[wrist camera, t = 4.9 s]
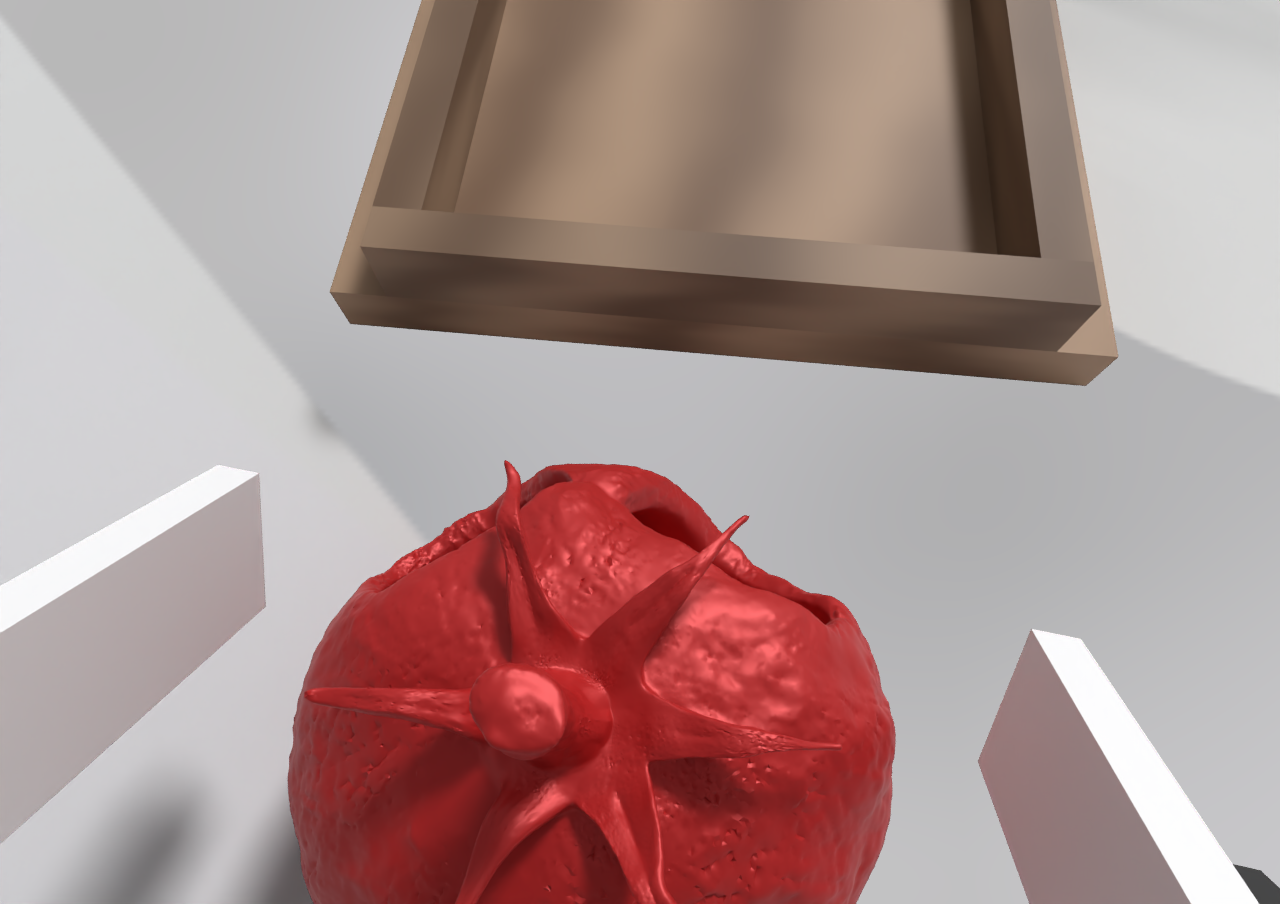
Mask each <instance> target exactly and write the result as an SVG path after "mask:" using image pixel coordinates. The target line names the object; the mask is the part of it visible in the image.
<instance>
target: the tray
mask: <svg viewBox="0 0 1280 904" xmlns="http://www.w3.org/2000/svg"><path fill="white" fill-rule="evenodd" d="M330 293H331V294H332V296H333V298H334V299H335V301H336V302H337V304H338V305H339V307H340V309H341V310H342V312H343V313H344V315H345V316H346V318H347V319H348V321H349V322H350V324H358V325H371V326H383V327H395V328H407V329H418V330H430V331H442V332H453V333H466V334H478V335H489V336H502V337H513V338H525V339H536V340H537V339H538V340H548V341H560V342H572V343H584V344H596V345H607V346H619V347H631V348H643V349H655V350H668V351H680V352H690V353H702V354H714V355H727V356H739V357H750V358H762V359H774V360H785V361H797V362H809V363H821V364H833V365H845V366H857V367H868V368H881V369H892V370H904V371H916V372H927V373H940V374H951V375H963V376H976V377H987V378H999V379H1010V380H1023V381H1034V382H1046V383H1058V384H1070V385H1082V386H1086V385H1087V384H1088V383H1090V382H1091V381H1092V380H1093V379H1094V378H1095V377H1096V376H1097V375H1099V374H1100V373H1101V372H1102V371H1103V370H1104V369H1105V368H1106V367H1108V366H1109V365H1110V364H1111V363H1112V362H1113V361H1114V360H1115V359H1117V358H1118V352H1117V346H1116V341H1115V335H1114V329H1113V323H1112V318H1111V312H1110V306H1109V301H1108V295H1107V289H1106V283H1105V278H1104V272H1103V266H1102V261H1101V255H1100V249H1099V243H1098V238H1097V232H1096V226H1095V221H1094V215H1093V209H1092V203H1091V198H1090V192H1089V186H1088V181H1087V175H1086V169H1085V164H1084V158H1083V152H1082V146H1081V141H1080V135H1079V129H1078V124H1077V118H1076V112H1075V106H1074V101H1073V95H1072V89H1071V84H1070V78H1069V72H1068V66H1067V61H1066V55H1065V49H1064V44H1063V38H1062V32H1061V26H1060V21H1059V15H1058V9H1057V4H1056V0H422V1H421V4H420V8H419V11H418V14H417V17H416V20H415V23H414V26H413V30H412V33H411V36H410V39H409V42H408V45H407V49H406V52H405V55H404V58H403V61H402V64H401V68H400V71H399V74H398V77H397V80H396V83H395V87H394V90H393V93H392V96H391V99H390V103H389V106H388V109H387V112H386V115H385V118H384V121H383V125H382V128H381V131H380V134H379V137H378V140H377V144H376V147H375V150H374V153H373V156H372V160H371V163H370V166H369V169H368V172H367V175H366V179H365V182H364V185H363V188H362V191H361V194H360V198H359V201H358V204H357V207H356V210H355V213H354V217H353V220H352V223H351V226H350V229H349V232H348V236H347V239H346V242H345V246H344V248H343V252H342V255H341V258H340V261H339V264H338V267H337V270H336V274H335V277H334V280H333V283H332V286H331V289H330Z"/></svg>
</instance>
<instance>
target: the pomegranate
mask: <svg viewBox="0 0 1280 904" xmlns="http://www.w3.org/2000/svg"><path fill="white" fill-rule="evenodd" d="M504 465H505V469H506V473H507V480H508V481H507V488H506V491H505V492H504V493H503V494H502V495H501V496H500V497H499V498H498V499H497V500H496V501H495V502H494V503H493V504H492V505H491V506H489V507H488V508H487V509H484V510H480V511H476V512H473V513H470V514H468V515H467V516H465V517H464V518H461V519H459V520H458V521H456V522H454V523H453V524H452V525H451V526H450V527H447V528H445V529H444V531H443V533H442V534H441V535H440V536H438V537H436V538H435V539H434V540H433V541H432V542H430V543H428V544H426V545H425V546H423V547H420V548H419V549H416V550H414V551H412V552H411V553H409V554H407V555H405V556H404V557H402V558H400V560H398V561H396V563H395V564H394V565H393V566H392V567H391V568H390V569H389V570H387V571H386V572H385V573H382V574H380V575H377V576H375V577H371V578H369V579H367V580H366V581H365V582H364V583H363V584H361V586H360V587H359V588H358V590H357V591H356V592H355V593H354V594H353V596H352V597H351V598H350V599H349V600H348V602H347V603H346V604H345V605H344V606H343V607H342V609H341V610H340V612H339V613H338V614H337V616H336V617H335V618H334V619H333V620H332V621H331V623H330V624H329V626H328V628H327V629H326V631H325V634H324V636H323V639H322V641H321V642H320V643H319V645H318V646H317V648H316V650H315V652H314V654H313V657H312V661H311V664H310V667H309V669H308V672H307V674H306V676H305V678H304V683H303V688H302V691H301V694H300V696H299V699H298V703H297V711H296V715H295V717H294V725H293V737H294V738H293V748H292V751H291V753H290V756H289V772H288V794H289V802H290V811H291V815H292V819H293V824H294V827H295V834H296V837H297V839H298V843H299V847H300V851H301V868H302V873H303V877H304V880H305V883H306V886H307V889H308V891H309V894H310V896H311V899H312V901H313V903H314V904H856V902H857V900H858V898H859V896H860V894H861V892H862V890H863V888H864V886H865V884H866V882H867V881H868V879H869V876H870V874H871V872H872V870H873V869H874V867H875V864H876V861H877V859H878V857H879V854H880V851H881V849H882V847H883V844H884V840H885V835H886V831H887V828H888V825H889V821H890V812H891V800H892V778H891V776H892V763H893V760H894V754H895V727H894V722H893V719H892V716H891V712H890V707H889V703H888V701H887V699H886V698H885V696H884V694H883V692H882V689H881V683H880V677H879V672H878V669H877V665H876V663H875V660H874V658H873V655H872V654H871V650H870V647H869V644H868V642H867V640H866V638H865V637H864V636H863V634H862V633H861V630H860V628H859V626H858V623H857V621H856V620H855V618H854V617H853V615H852V613H851V612H850V611H849V609H848V608H847V607H846V606H845V605H844V604H843V603H842V602H840V601H839V600H837V599H835V598H834V597H832V596H827V595H822V594H816V593H808V592H805V591H803V590H801V589H799V588H798V587H796V586H794V585H792V584H791V583H789V582H788V581H786V580H785V579H782V578H780V577H777V576H774V575H769V574H768V573H766V572H765V571H763V570H762V569H760V568H758V567H756V566H754V565H753V564H752V563H751V562H750V561H749V560H748V559H747V557H746V555H745V554H744V553H743V551H742V550H741V549H740V547H739V546H737V545H736V544H734V543H733V542H731V541H730V537H731V536H732V535H733V534H734V532H735V531H736V530H737V529H738V528H739V527H740V526H741V525H742V524H743V523H745V522H746V521H747V520H748V518H749V516H746V515H744V516H742V517H741V518H740V519H738V520H737V521H736V522H735V523H734V524H732V526H730V527H729V528H728V529H727V530H726V531H725V532H724V533H721V531H719V530H718V529H717V527H716V526H715V525H714V524H713V523H712V521H711V519H710V517H708V516H707V515H706V513H705V512H704V510H703V509H702V508H701V506H700V505H699V504H698V503H696V502H695V501H694V500H693V499H692V498H690V497H689V496H688V495H687V494H686V493H684V492H683V491H682V490H681V488H680V487H679V486H677V485H675V484H673V482H671V481H670V480H669V479H667V478H666V477H663V476H660V475H658V474H656V473H654V472H652V471H648V470H643V469H640V468H638V467H635V466H627V465H616V464H611V465H605V464H564V465H552V466H548V467H546V468H545V469H543V470H541V471H539V472H538V473H536V474H535V476H534V477H532V478H531V479H529V480H527V481H526V482H524V483H522V484H521V480H520V476H519V474H518V472H517V471H516V470H515V468H514V467H513V466H512V464H510V463H509V462H508V461H506V460H505V461H504Z"/></svg>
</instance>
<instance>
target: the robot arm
mask: <svg viewBox="0 0 1280 904" xmlns="http://www.w3.org/2000/svg"><path fill="white" fill-rule="evenodd" d="M265 607H266V602H265V582H264V563H263V543H262V523H261V503H260V483H259V473H256V472H251V471H246V470H241V469H236V468H231V467H226V466H221V465H217V466H215V467H213V468H211V469H210V470H208V471H206V472H204V473H202V474H201V475H199V476H197V477H195V478H193V479H192V480H190V481H188V482H186V483H184V484H183V485H181V486H179V487H177V488H175V489H174V490H172V491H170V492H168V493H166V494H165V495H163V496H161V497H159V498H157V499H156V500H154V501H152V502H150V503H148V504H147V505H145V506H143V507H141V508H139V509H138V510H136V511H134V512H132V513H130V514H129V515H127V516H125V517H123V518H121V519H120V520H118V521H116V522H114V523H113V524H111V525H109V526H107V527H105V528H104V529H102V530H100V531H98V532H96V533H95V534H93V535H91V536H89V537H87V538H86V539H84V540H82V541H80V542H78V543H77V544H75V545H73V546H71V547H69V548H68V549H66V550H64V551H62V552H60V553H59V554H57V555H55V556H53V557H51V558H50V559H48V560H46V561H44V562H42V563H41V564H39V565H37V566H35V567H33V568H32V569H30V570H28V571H26V572H24V573H23V574H21V575H19V576H17V577H15V578H14V579H12V580H10V581H8V582H6V583H5V584H3V585H1V586H0V844H1V843H2V842H3V841H4V840H6V839H7V838H8V837H9V836H10V835H11V834H12V833H13V832H14V831H16V830H17V829H18V828H19V827H20V826H21V825H22V824H23V823H25V822H26V821H27V820H28V819H29V818H30V817H31V816H32V815H33V814H35V813H36V812H37V811H38V810H39V809H40V808H41V807H42V806H44V805H45V804H46V803H47V802H48V801H49V800H50V799H51V798H52V797H54V796H55V795H56V794H57V793H58V792H59V791H60V790H61V789H62V788H64V787H65V786H66V785H67V784H68V783H69V782H70V781H71V780H73V779H74V778H75V777H76V776H77V775H78V774H79V773H80V772H81V771H83V770H84V769H85V768H86V767H87V766H88V765H89V764H90V763H92V762H93V761H94V760H95V759H96V758H97V757H98V756H99V755H100V754H102V753H103V752H104V751H105V750H106V749H107V748H108V747H109V746H111V745H112V744H113V743H114V742H115V741H116V740H117V739H118V738H119V737H121V736H122V735H123V734H124V733H125V732H126V731H127V730H128V729H130V728H131V727H132V726H133V725H134V724H135V723H136V722H137V721H138V720H140V719H141V718H142V717H143V716H144V715H145V714H146V713H147V712H148V711H150V710H151V709H152V708H153V707H154V706H155V705H156V704H157V703H159V702H160V701H161V700H162V699H163V698H164V697H165V696H166V695H167V694H169V693H170V692H171V691H172V690H173V689H174V688H175V687H176V686H178V685H179V684H180V683H181V682H182V681H183V680H184V679H185V678H186V677H188V676H189V675H190V674H191V673H192V672H193V671H194V670H195V669H197V668H198V667H199V666H200V665H201V664H202V663H203V662H204V661H205V660H207V659H208V658H209V657H210V656H211V655H212V654H213V653H214V652H216V651H217V650H218V649H219V648H220V647H221V646H222V645H223V644H224V643H226V642H227V641H228V640H229V639H230V638H231V637H232V636H233V635H234V634H236V633H237V632H238V631H239V630H240V629H241V628H242V627H243V626H245V625H246V624H247V623H248V622H249V621H250V620H251V619H252V618H253V617H255V616H256V615H257V614H258V613H259V612H260V611H261V610H262V609H264V608H265ZM978 763H979V766H980V769H981V772H982V774H983V777H984V780H985V782H986V785H987V788H988V791H989V794H990V796H991V799H992V802H993V805H994V807H995V810H996V813H997V816H998V818H999V821H1000V823H1001V827H1002V829H1003V832H1004V835H1005V837H1006V840H1007V843H1008V846H1009V849H1010V851H1011V854H1012V857H1013V859H1014V862H1015V865H1016V868H1017V871H1018V873H1019V876H1020V879H1021V882H1022V884H1023V887H1024V890H1025V893H1026V896H1027V898H1028V901H1029V904H1280V888H1279V887H1278V886H1277V885H1276V884H1274V883H1273V882H1272V881H1271V880H1270V879H1269V878H1268V877H1267V876H1266V875H1264V873H1263V872H1262V871H1260V870H1256V869H1252V868H1247V867H1243V866H1238V865H1234V864H1232V863H1231V861H1230V860H1229V858H1228V857H1227V855H1226V854H1225V853H1224V851H1223V849H1222V848H1221V846H1220V845H1219V843H1218V842H1217V840H1216V839H1215V837H1214V836H1213V834H1212V833H1211V831H1210V830H1209V828H1208V827H1207V826H1206V824H1205V823H1204V821H1203V820H1202V818H1201V817H1200V815H1199V814H1198V812H1197V811H1196V809H1195V808H1194V806H1193V805H1192V803H1191V802H1190V800H1189V799H1188V797H1187V796H1186V794H1185V793H1184V791H1183V790H1182V788H1181V787H1180V785H1179V784H1178V782H1177V781H1176V779H1175V778H1174V776H1173V775H1172V774H1171V772H1170V771H1169V769H1168V768H1167V766H1166V765H1165V763H1164V762H1163V760H1162V759H1161V757H1160V756H1159V754H1158V753H1157V751H1156V750H1155V748H1154V747H1153V745H1152V744H1151V742H1150V741H1149V739H1148V738H1147V737H1146V735H1145V734H1144V732H1143V730H1142V729H1141V728H1140V726H1139V725H1138V723H1137V722H1136V720H1135V719H1134V717H1133V716H1132V714H1131V713H1130V711H1129V710H1128V708H1127V707H1126V705H1125V704H1124V702H1123V701H1122V699H1121V698H1120V696H1119V695H1118V693H1117V692H1116V690H1115V689H1114V687H1113V686H1112V684H1111V683H1110V681H1109V680H1108V678H1107V677H1106V676H1105V674H1104V673H1103V671H1102V670H1101V668H1100V667H1099V665H1098V664H1097V662H1096V661H1095V659H1094V658H1093V656H1092V655H1091V653H1090V652H1089V651H1088V649H1087V647H1086V646H1085V644H1084V643H1083V641H1082V640H1081V639H1079V638H1074V637H1069V636H1064V635H1059V634H1054V633H1049V632H1043V631H1039V630H1034V629H1031V631H1030V633H1029V636H1028V639H1027V641H1026V644H1025V646H1024V648H1023V651H1022V653H1021V656H1020V658H1019V661H1018V663H1017V666H1016V668H1015V671H1014V673H1013V676H1012V678H1011V681H1010V683H1009V686H1008V688H1007V690H1006V693H1005V695H1004V698H1003V701H1002V703H1001V705H1000V708H999V710H998V713H997V715H996V718H995V720H994V723H993V725H992V728H991V730H990V733H989V735H988V737H987V740H986V743H985V745H984V747H983V750H982V752H981V755H980V757H979V760H978Z"/></svg>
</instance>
